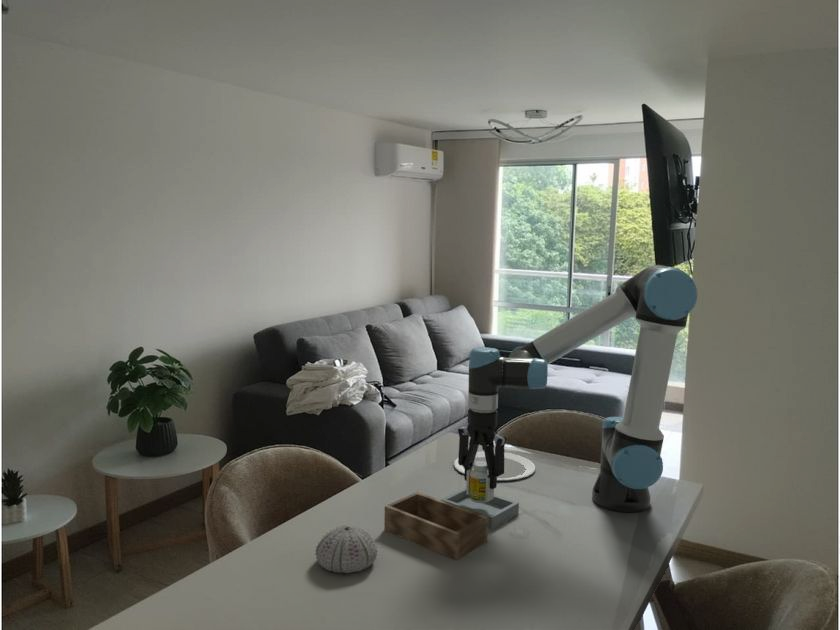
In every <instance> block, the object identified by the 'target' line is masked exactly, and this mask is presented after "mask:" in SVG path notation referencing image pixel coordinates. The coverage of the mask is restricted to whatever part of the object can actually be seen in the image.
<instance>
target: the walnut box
mask: <svg viewBox="0 0 840 630" xmlns="http://www.w3.org/2000/svg"><path fill="white" fill-rule="evenodd" d="M383 524H384V531H386V532H388V533H390V534H393V535H396V536H398V537H401V538H403V539H405V540H407V541H410V542H412V543H414V544H417V545H420V546H422V547H424V548H426V547H427V549H428V550H430V551H433V552H436V553H438V554H440V555H442V556H446V557H448V558H450V559H451V560H452V559H453V560H455V561H458V560H460V559H461V558H462V557H464V556H466V555H467V554H469V553H471V552H472V551H474V550H475V549H477V548H479V547H481V546H483V545H484V544H486V543H488V541H489V528H488V517H486V516H483V515H481V514H478V513H475V512H472V511H469V510H467V509H464V508H461V507H458V506H455V505H453V504H450V503H447V502H444V501H441V499H438V498H436V497H433V496H430V495H428V494H423V493H421V492H419V491H416V492H413V493H412V494H410V495H409V494H408V495H407V496H405V497H403V498H401V499H398V500H396V501H394V502H391V503H389V504H386V505H385V506H384V523H383Z"/></svg>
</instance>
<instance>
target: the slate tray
mask: <svg viewBox="0 0 840 630" xmlns="http://www.w3.org/2000/svg"><path fill="white" fill-rule="evenodd" d="M440 500H441V501H444V502H447V503H450V504H453V505H455V506H458V507H461V508H464V509H467V510H469V511H472V512H475V513H478V514H481V515H483V516H486V517H488V529H489V530H493V529H495V528H496V527H498V526H500V525H503V524H504V523H506V522H507V521H509V520H510V519H512V518H513V517H516V516H517V515H519V511H520V510H519V505H520V503H519V502H516V501H514V500H511V499H508V498H505V497H503V496H499V495H497V494H494V499H492V500H490V501H488V502H485V503H476V502H473V501H471V500H470V495H466V487H464V488H462V489H460V490H458V491H456V492H454V493H452V494H450V495H447V496H446V497H443V498H441V499H440Z"/></svg>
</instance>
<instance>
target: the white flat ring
mask: <svg viewBox="0 0 840 630" xmlns="http://www.w3.org/2000/svg"><path fill="white" fill-rule="evenodd" d="M494 454H495V450H494ZM477 457H478V458H485V452H484V450H482V451H477V453H476V457H475V459H478V458H477ZM504 459H508V460H511V461H515V462H516V463H517V462H518V463H519V464H521V465H522V466H523V465H524V466H523V468H524V471H525V472H524V471H523V472H524V473H523V472H522V473H523V474H522V473H521V474H522V475H521V474H519V475H515V476H516V477H515V476H513V477H512V476H511V477H504V478H501V477H500V478H498V477H497V482H512V481H518V480H521V479H526V478H528V477H530V476H532V475H533V474H534V473H535V471H536V465H535V464H534V463H533V461H531V460H529V458H526V457H523V456H521V455H518V454H514V453H510V452H505V451H504ZM453 466H454V469H456V471H458V472H459V473H461V474H462V475H464V476H465V469H464V467H463V466H462V465H459V464H458V457H457V458H456V459H454V463H453ZM525 469H526V470H525Z"/></svg>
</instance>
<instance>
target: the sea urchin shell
mask: <svg viewBox="0 0 840 630" xmlns="http://www.w3.org/2000/svg"><path fill="white" fill-rule="evenodd" d="M315 548H316V549H315V554H314V555H315V556H316V558H315V559H316V560H317V561H318V564H319V565H320V566H321V568H324V569H325V570H327V571H329V572H334V573H339V574H341V573H345V574H348V573H349V574H351V573H354V572H360V571H362V570H365V569H367V568H369V567H370V566H372V564H373V563H374V562H375V560H377V555H378V554H377V553H378V550H377V545H376V542H375V540H374V539H373V537H372V536H371V535H370V534H369V533H368V532H367V531H365V530H364V529H363V528H361V527H358V526H350V525H346V524H344V525H343V524H342V525H340V526H337V527H335V528H333V529H332V530H330V531H329V532H326V534H325V535H323V537H322V538H321V540H320V541H319V542H318V544H317V545H316V546H315Z"/></svg>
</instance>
